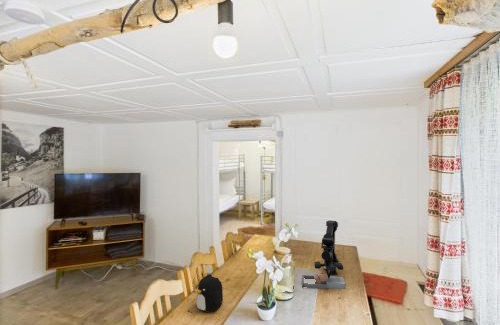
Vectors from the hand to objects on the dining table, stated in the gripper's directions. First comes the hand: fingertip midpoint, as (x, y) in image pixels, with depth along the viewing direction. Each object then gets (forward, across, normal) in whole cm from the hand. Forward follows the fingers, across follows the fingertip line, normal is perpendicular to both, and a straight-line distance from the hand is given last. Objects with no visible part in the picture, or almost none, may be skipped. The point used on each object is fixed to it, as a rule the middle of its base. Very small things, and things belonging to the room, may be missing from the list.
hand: (328, 277), depth 176 cm
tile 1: (+1, -6, 0) cm, 6 cm away
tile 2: (+1, -3, 0) cm, 4 cm away
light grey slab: (+5, +4, 0) cm, 6 cm away
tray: (+4, -10, 0) cm, 11 cm away
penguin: (+5, -73, -36) cm, 82 cm away
